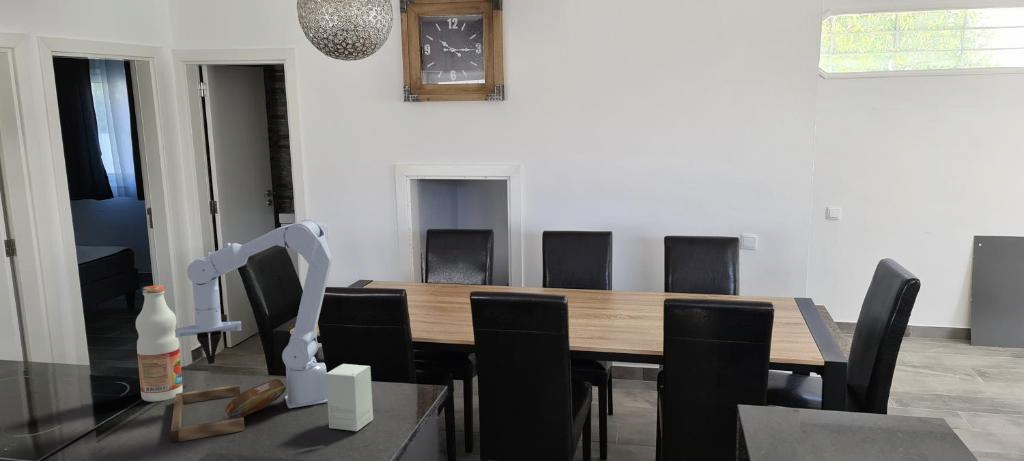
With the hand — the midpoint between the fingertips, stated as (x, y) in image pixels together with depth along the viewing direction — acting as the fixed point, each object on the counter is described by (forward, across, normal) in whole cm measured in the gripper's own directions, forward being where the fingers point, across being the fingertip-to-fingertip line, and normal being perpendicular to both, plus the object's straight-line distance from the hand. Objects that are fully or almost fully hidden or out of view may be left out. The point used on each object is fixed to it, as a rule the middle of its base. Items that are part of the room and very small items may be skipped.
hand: (211, 362), depth 169 cm
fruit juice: (+11, +12, -12) cm, 20 cm away
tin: (+9, -7, +10) cm, 15 cm away
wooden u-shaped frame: (+10, +1, +8) cm, 13 cm away
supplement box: (+11, -28, +27) cm, 40 cm away
